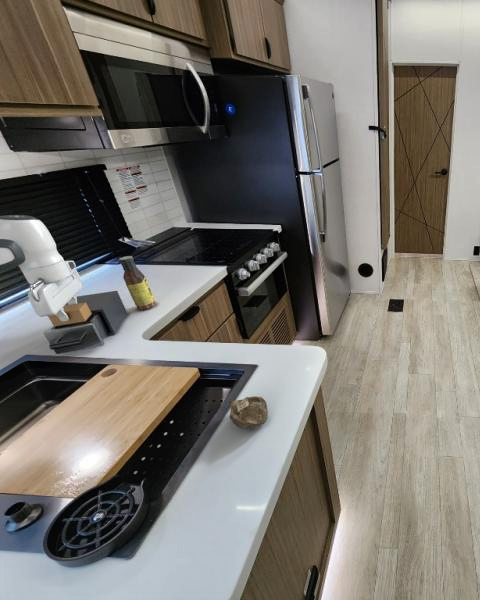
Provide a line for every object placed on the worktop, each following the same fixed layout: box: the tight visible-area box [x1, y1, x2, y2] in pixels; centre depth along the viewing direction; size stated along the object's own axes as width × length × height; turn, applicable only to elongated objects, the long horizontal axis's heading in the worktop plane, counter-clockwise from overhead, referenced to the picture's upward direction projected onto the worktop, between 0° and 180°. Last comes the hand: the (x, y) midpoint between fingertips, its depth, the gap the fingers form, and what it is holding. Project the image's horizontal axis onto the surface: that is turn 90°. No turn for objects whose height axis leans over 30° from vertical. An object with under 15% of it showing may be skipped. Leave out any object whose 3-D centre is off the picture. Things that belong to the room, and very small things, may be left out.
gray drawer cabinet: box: [64, 290, 128, 337], centre depth 111 cm, size 15×13×10 cm
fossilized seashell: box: [229, 395, 269, 429], centre depth 76 cm, size 8×7×10 cm
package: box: [47, 303, 92, 327], centre depth 99 cm, size 8×5×4 cm, turn 113°
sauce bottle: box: [118, 255, 157, 311], centre depth 122 cm, size 7×6×20 cm
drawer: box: [42, 312, 110, 355], centre depth 102 cm, size 18×11×8 cm, turn 23°
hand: (70, 314), depth 99 cm, fingers closed on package, 5 cm apart
